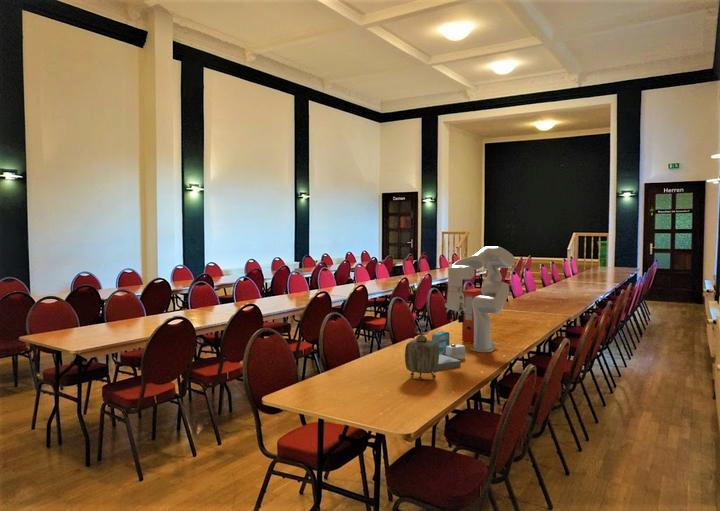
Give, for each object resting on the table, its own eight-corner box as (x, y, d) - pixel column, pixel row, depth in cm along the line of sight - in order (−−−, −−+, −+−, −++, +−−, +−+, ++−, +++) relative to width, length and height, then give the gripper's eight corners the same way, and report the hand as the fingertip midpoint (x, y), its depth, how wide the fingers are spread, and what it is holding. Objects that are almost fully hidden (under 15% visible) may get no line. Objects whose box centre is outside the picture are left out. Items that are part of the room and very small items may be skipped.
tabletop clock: (438, 377, 247) (438, 325, 246) (433, 383, 239) (433, 328, 238) (409, 374, 253) (409, 323, 252) (403, 379, 245) (403, 326, 244)
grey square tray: (441, 359, 282) (441, 354, 282) (460, 366, 268) (460, 360, 267) (416, 363, 274) (416, 357, 274) (435, 370, 260) (435, 364, 260)
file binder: (486, 338, 334) (486, 288, 333) (474, 343, 321) (474, 291, 319) (474, 337, 339) (474, 288, 338) (462, 341, 326) (462, 290, 324)
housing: (459, 356, 288) (459, 342, 288) (464, 358, 284) (465, 344, 283) (445, 359, 284) (445, 344, 283) (451, 360, 279) (451, 346, 279)
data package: (438, 356, 289) (438, 334, 289) (431, 355, 292) (431, 334, 291) (449, 352, 298) (449, 331, 298) (442, 351, 301) (442, 330, 301)
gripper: (471, 290, 276) (471, 322, 277) (450, 287, 291) (450, 318, 292) (460, 291, 273) (459, 324, 273) (439, 288, 288) (439, 319, 289)
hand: (455, 321), depth 283 cm, fingers open, 9 cm apart
